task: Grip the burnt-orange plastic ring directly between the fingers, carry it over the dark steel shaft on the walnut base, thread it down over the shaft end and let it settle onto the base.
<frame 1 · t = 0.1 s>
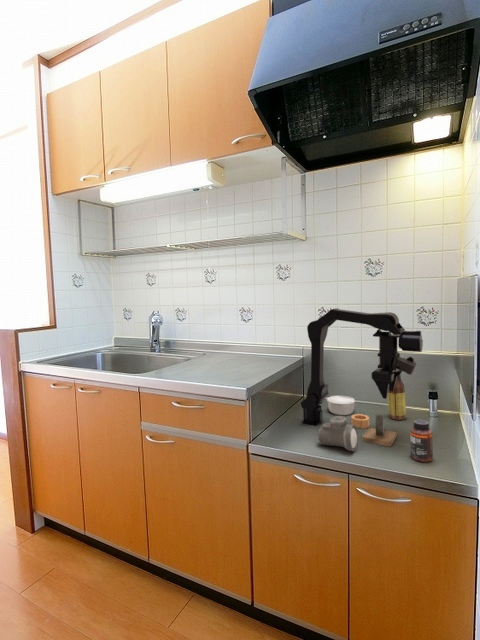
hand: (388, 394, 124), 14 cm above the counter, fingers open, 9 cm apart
ramekin: (341, 412, 151), on the counter
supplement bottle: (421, 458, 109), on the counter
pipe fitting: (337, 447, 119), on the counter
ring: (360, 425, 136), on the counter
shaft post: (379, 438, 123), on the counter
sauce bottle: (396, 418, 142), on the counter
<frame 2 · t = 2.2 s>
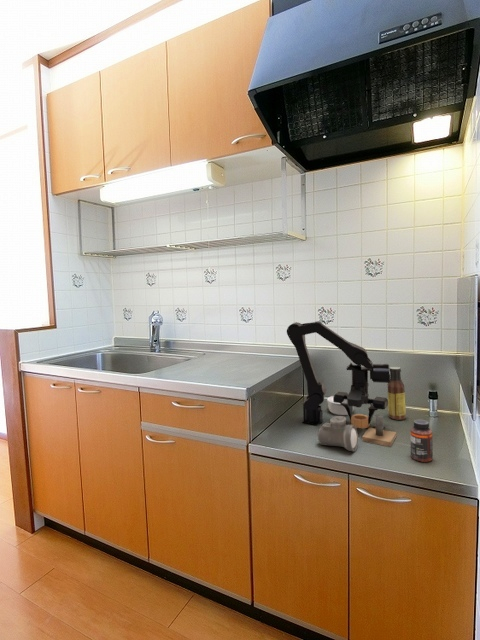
hand: (360, 422, 136), 1 cm above the counter, fingers closed on ring, 6 cm apart
ring: (360, 425, 136), on the counter, touching gripper
everything else where it was.
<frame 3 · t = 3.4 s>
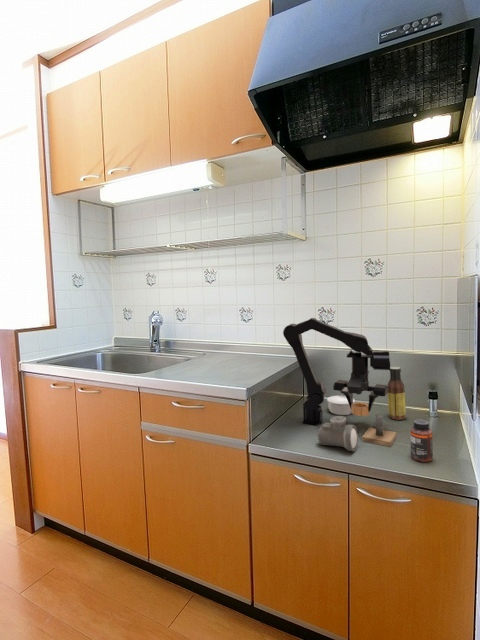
hand: (360, 410, 135), 6 cm above the counter, fingers closed on ring, 6 cm apart
ring: (360, 412, 135), point 5 cm above the counter, touching gripper
everything else where it was.
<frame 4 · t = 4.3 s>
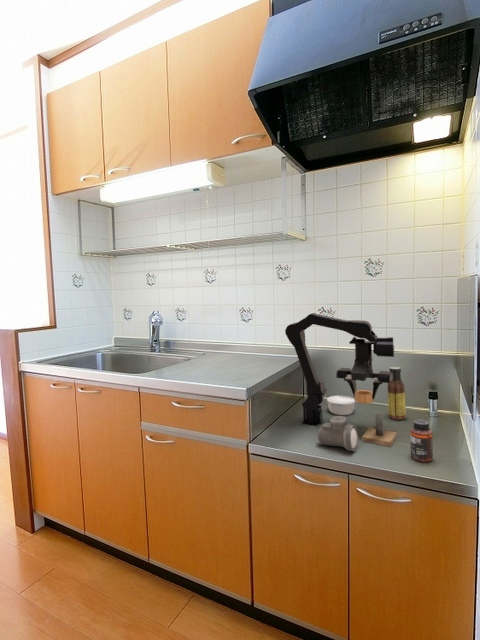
hand: (364, 398, 132), 11 cm above the counter, fingers closed on ring, 6 cm apart
ring: (364, 400, 132), point 10 cm above the counter, touching gripper
everything else where it was.
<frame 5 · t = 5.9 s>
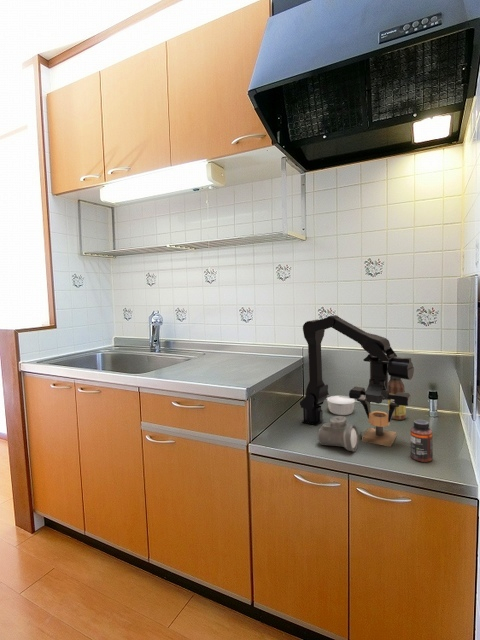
hand: (379, 420, 123), 6 cm above the counter, fingers closed on ring, 6 cm apart
ring: (379, 423, 123), point 5 cm above the counter, touching gripper
everything else where it was.
when the fingers open (4 cm above the counter, at t = 6.8 s): ring drops 1 cm, resting on shaft post.
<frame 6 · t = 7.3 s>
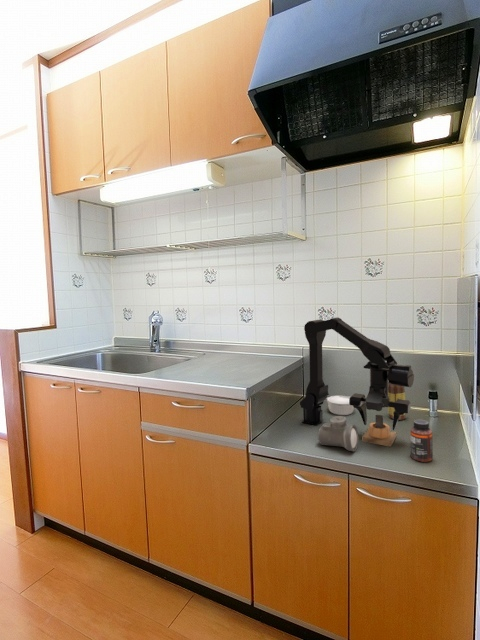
hand: (379, 427, 123), 4 cm above the counter, fingers open, 9 cm apart
ring: (379, 434, 123), point 1 cm above the counter, touching shaft post
everything else where it was.
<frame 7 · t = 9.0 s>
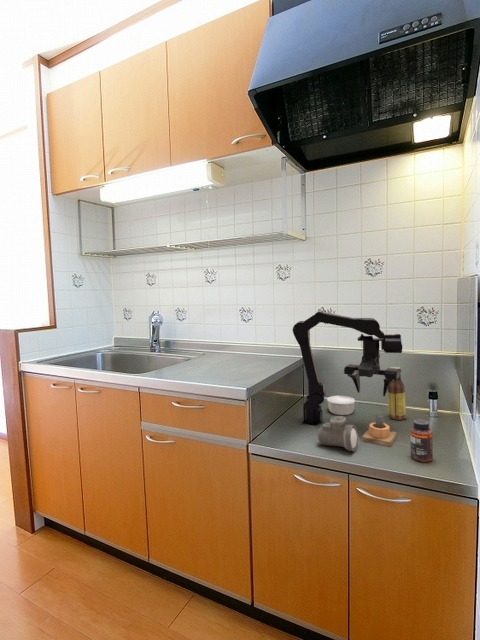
hand: (371, 394, 134), 12 cm above the counter, fingers open, 9 cm apart
nothing on the counter moved.
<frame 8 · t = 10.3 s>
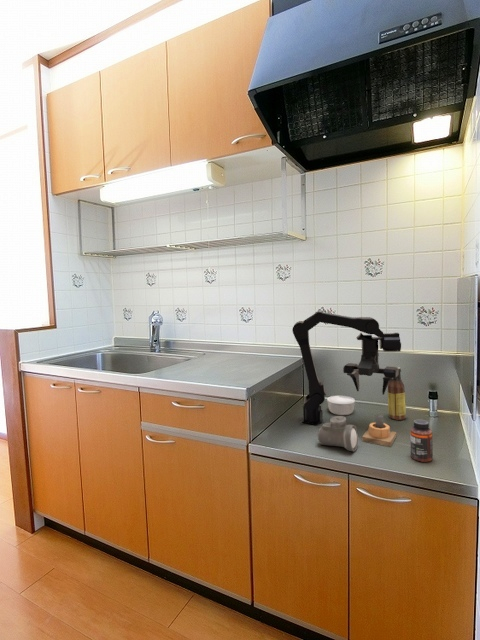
hand: (370, 392, 135), 12 cm above the counter, fingers open, 9 cm apart
nothing on the counter moved.
at the end: ring 0.1 cm off-centre on the shaft post, point 1.5 cm above the shaft post's base; the gripper is holding nothing; ring tilted 0° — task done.
